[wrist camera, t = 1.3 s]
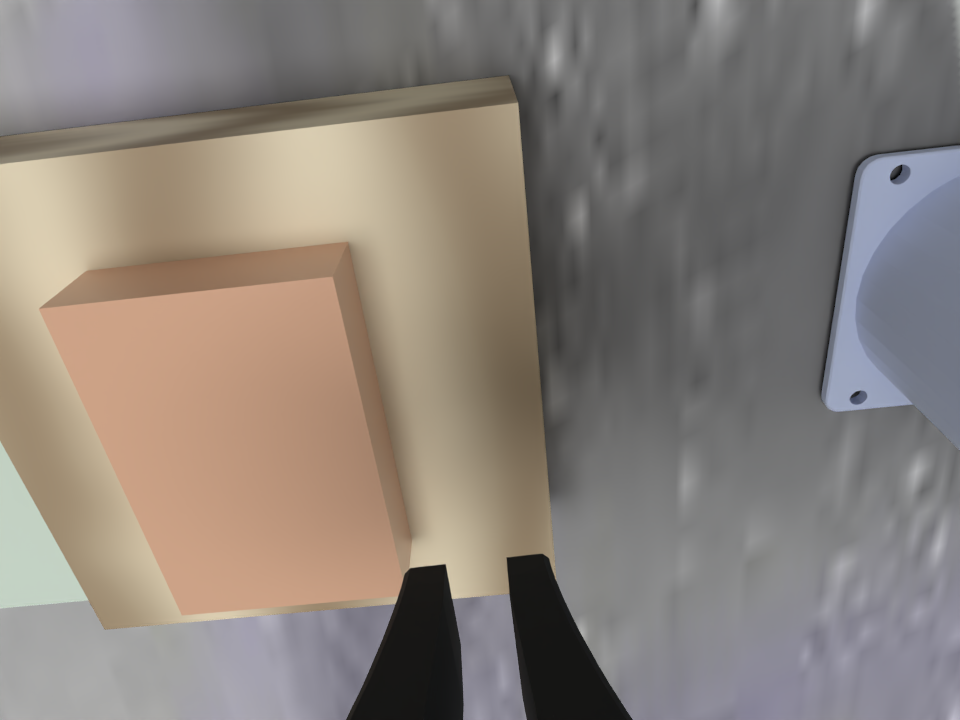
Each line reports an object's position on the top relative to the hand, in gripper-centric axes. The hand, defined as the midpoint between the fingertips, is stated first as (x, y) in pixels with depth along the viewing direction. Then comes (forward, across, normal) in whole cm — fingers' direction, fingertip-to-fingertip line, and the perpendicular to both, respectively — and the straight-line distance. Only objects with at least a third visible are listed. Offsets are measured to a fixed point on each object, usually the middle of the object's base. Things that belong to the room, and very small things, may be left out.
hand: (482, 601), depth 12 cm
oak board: (+10, +5, 0) cm, 12 cm away
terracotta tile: (+6, +5, 0) cm, 8 cm away
